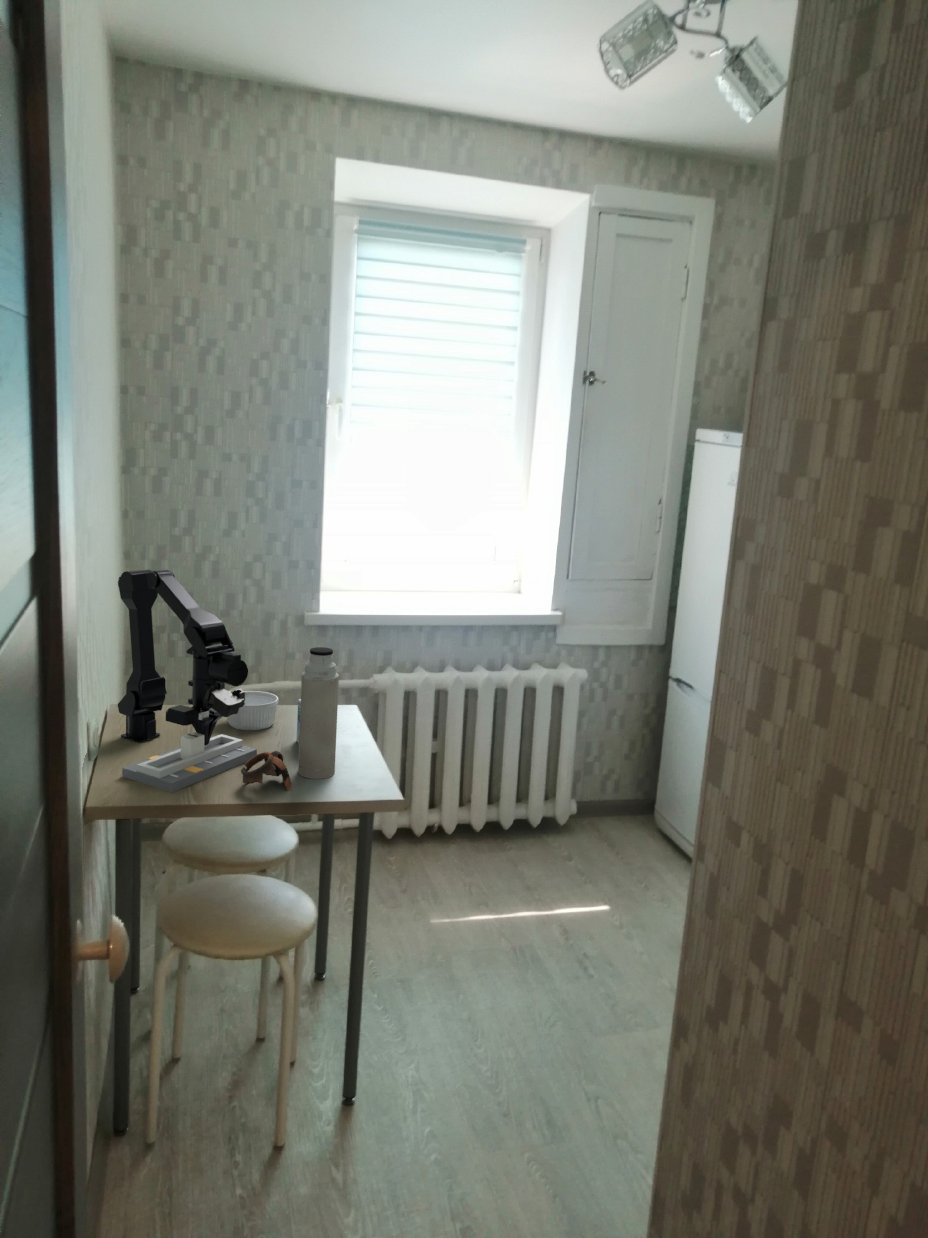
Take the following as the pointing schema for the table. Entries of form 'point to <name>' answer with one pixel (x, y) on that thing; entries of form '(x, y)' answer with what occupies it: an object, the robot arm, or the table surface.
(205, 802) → the table surface
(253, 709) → the ramekin
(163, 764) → the console
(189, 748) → the fader knob
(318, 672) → the thermos bottle
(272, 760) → the brown curved looped piece
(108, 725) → the table surface
